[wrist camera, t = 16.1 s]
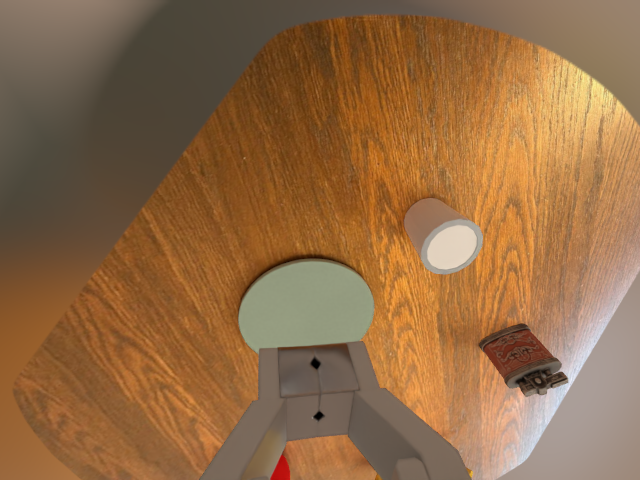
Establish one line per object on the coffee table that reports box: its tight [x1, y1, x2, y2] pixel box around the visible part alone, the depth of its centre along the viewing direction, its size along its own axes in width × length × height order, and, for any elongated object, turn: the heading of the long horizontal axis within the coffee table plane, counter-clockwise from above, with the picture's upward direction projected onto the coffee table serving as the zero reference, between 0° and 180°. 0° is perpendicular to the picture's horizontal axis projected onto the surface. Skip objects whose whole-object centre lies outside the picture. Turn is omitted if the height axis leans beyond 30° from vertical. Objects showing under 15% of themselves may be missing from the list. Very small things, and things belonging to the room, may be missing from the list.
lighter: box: [480, 324, 568, 397], centre depth 52 cm, size 8×3×10 cm, turn 112°
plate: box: [238, 259, 374, 354], centre depth 47 cm, size 18×18×2 cm
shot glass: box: [404, 198, 483, 274], centre depth 40 cm, size 7×7×7 cm
